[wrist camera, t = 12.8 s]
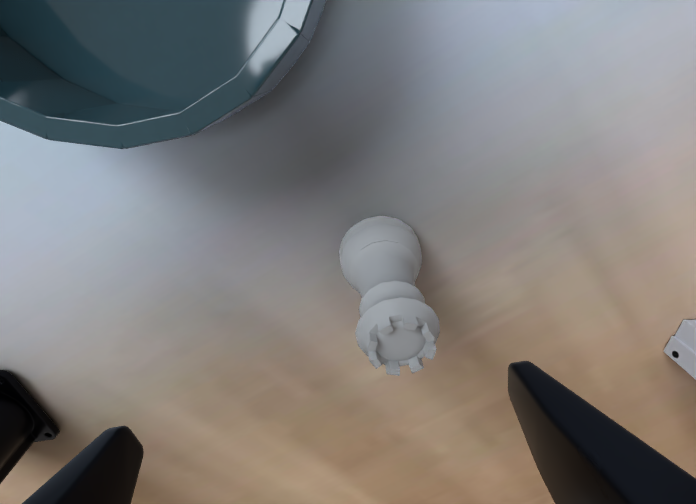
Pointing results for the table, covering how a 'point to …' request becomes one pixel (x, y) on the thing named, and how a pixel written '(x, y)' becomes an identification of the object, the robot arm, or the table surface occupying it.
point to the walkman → (684, 347)
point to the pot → (143, 64)
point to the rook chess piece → (389, 293)
